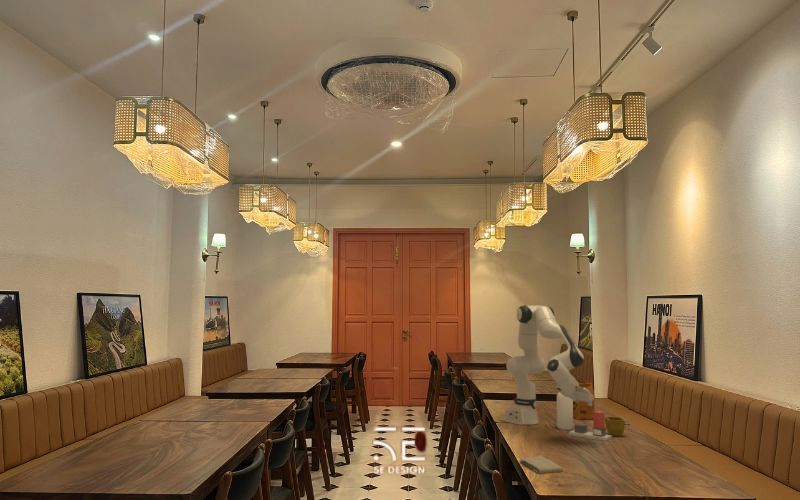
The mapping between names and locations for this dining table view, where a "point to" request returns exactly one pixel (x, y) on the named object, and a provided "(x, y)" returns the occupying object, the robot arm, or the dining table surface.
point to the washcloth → (540, 464)
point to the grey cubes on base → (596, 434)
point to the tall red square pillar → (598, 419)
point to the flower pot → (615, 425)
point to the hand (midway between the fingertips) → (584, 403)
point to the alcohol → (564, 412)
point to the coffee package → (584, 405)
